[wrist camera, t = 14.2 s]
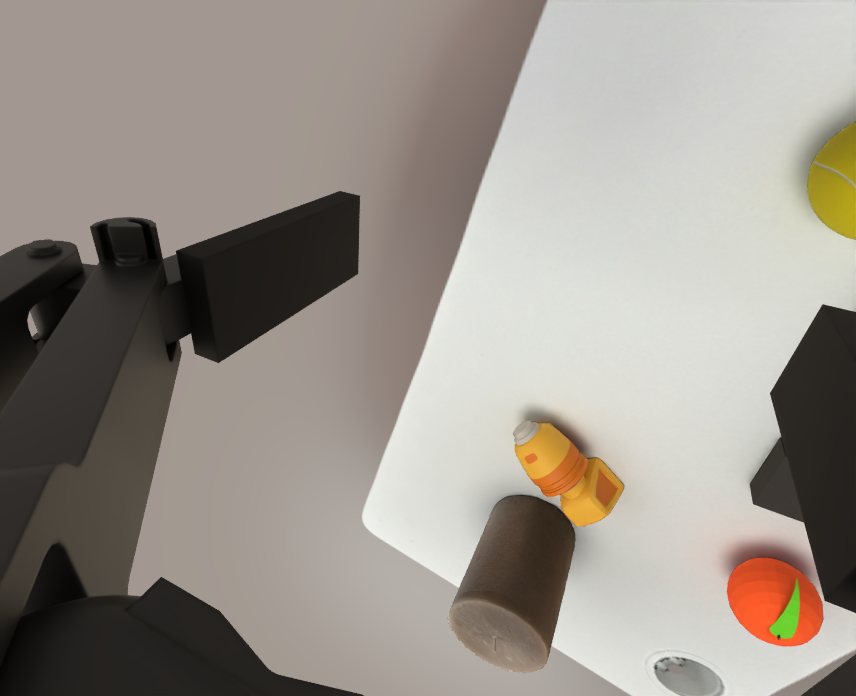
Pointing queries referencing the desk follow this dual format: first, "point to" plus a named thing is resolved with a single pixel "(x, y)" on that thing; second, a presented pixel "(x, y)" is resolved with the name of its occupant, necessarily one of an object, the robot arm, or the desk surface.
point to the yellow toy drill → (566, 473)
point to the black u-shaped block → (776, 485)
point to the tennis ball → (835, 183)
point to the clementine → (775, 602)
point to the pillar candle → (515, 585)
